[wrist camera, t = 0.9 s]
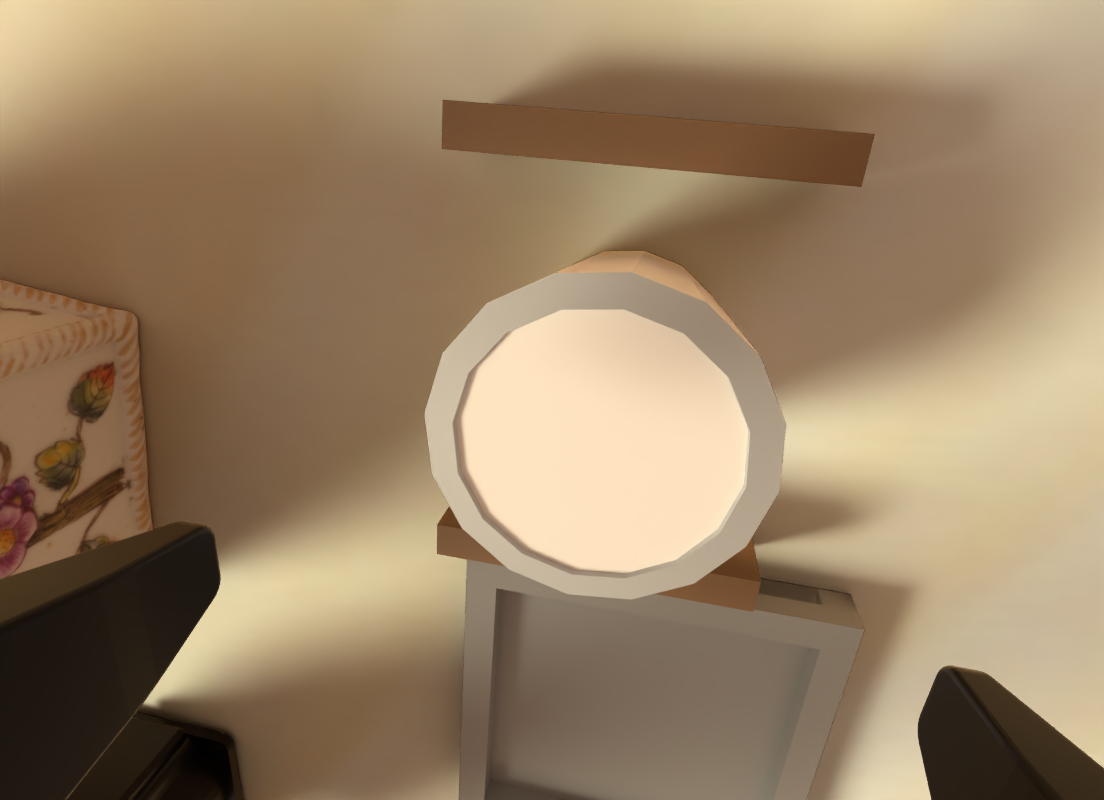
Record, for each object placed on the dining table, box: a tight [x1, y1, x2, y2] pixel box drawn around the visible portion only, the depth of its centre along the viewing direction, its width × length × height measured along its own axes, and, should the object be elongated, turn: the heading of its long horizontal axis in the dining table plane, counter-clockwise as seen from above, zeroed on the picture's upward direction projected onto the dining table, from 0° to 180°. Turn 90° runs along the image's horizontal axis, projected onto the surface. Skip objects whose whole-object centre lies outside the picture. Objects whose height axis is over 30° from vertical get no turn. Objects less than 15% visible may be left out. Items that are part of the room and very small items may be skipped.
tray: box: [459, 559, 864, 800], centre depth 22 cm, size 12×12×2 cm
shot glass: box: [424, 251, 786, 600], centre depth 15 cm, size 7×7×7 cm
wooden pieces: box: [437, 100, 875, 612], centre depth 17 cm, size 12×9×3 cm
